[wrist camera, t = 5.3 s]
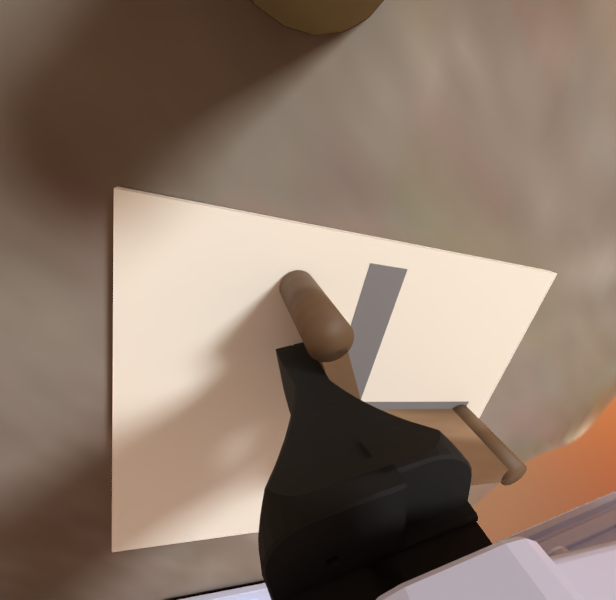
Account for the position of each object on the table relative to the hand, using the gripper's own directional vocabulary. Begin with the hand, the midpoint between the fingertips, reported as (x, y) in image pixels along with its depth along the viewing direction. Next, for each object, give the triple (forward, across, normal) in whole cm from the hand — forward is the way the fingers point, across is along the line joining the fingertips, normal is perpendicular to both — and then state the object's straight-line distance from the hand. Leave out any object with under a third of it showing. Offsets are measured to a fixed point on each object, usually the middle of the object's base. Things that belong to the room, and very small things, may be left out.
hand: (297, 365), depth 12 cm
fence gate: (+1, -1, 0) cm, 2 cm away
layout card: (+2, -2, +4) cm, 5 cm away
